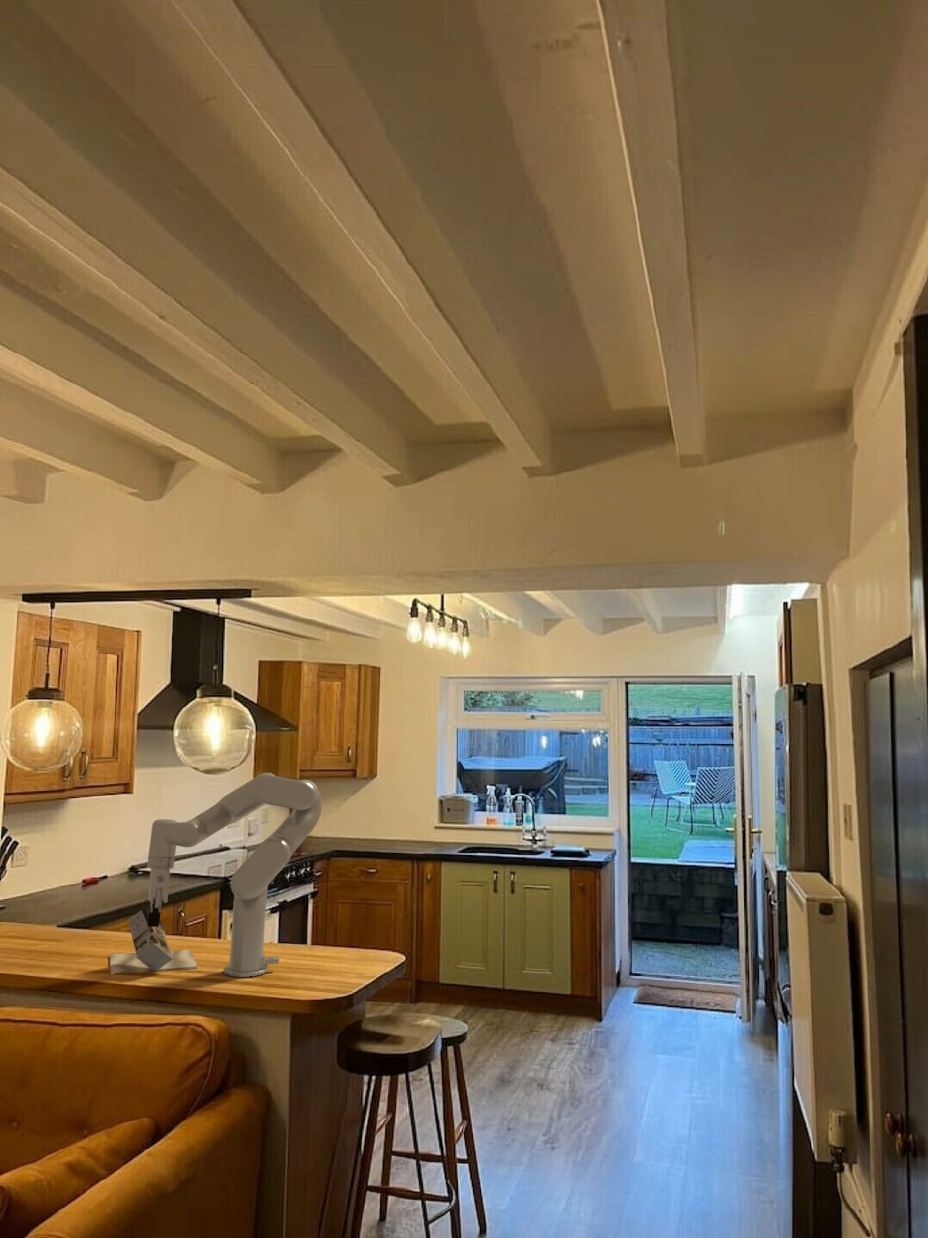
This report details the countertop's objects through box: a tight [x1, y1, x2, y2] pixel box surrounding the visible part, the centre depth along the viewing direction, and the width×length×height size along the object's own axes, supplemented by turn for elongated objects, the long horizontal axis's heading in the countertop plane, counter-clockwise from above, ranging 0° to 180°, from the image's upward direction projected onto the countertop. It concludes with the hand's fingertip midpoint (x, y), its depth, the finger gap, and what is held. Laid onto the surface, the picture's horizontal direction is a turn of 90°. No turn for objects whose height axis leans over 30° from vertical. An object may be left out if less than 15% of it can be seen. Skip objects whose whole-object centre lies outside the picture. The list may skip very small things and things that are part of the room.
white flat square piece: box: [109, 949, 198, 974], centre depth 265 cm, size 24×22×1 cm
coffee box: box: [127, 906, 172, 973], centre depth 259 cm, size 9×6×16 cm
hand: (153, 926), depth 256 cm, fingers closed
